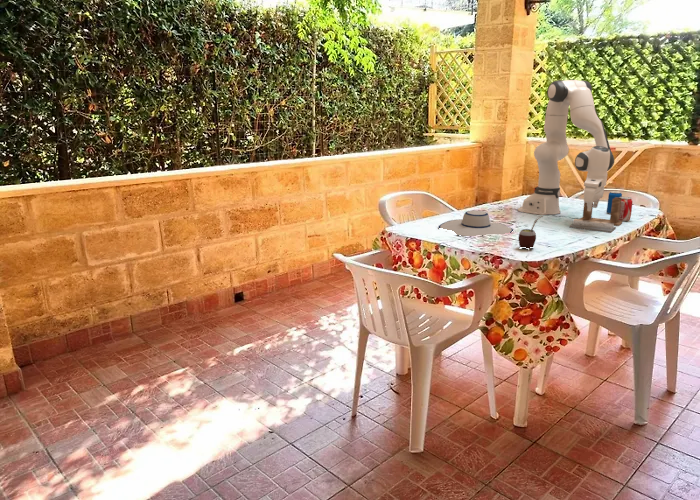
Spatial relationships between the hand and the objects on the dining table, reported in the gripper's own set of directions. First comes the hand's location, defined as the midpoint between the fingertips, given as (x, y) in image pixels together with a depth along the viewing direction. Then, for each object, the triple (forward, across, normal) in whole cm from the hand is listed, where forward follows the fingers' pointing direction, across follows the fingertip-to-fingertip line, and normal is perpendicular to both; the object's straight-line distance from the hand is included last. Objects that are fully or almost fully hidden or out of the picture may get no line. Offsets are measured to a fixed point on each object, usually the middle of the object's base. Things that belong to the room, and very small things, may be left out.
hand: (592, 209), depth 251 cm
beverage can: (+10, -40, +1) cm, 41 cm away
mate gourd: (+10, +53, -10) cm, 55 cm away
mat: (+9, 0, +1) cm, 9 cm away
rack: (+9, -15, +1) cm, 18 cm away
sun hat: (+12, +33, -44) cm, 57 cm away
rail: (+8, 0, +1) cm, 9 cm away
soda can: (+9, -25, +9) cm, 28 cm away
